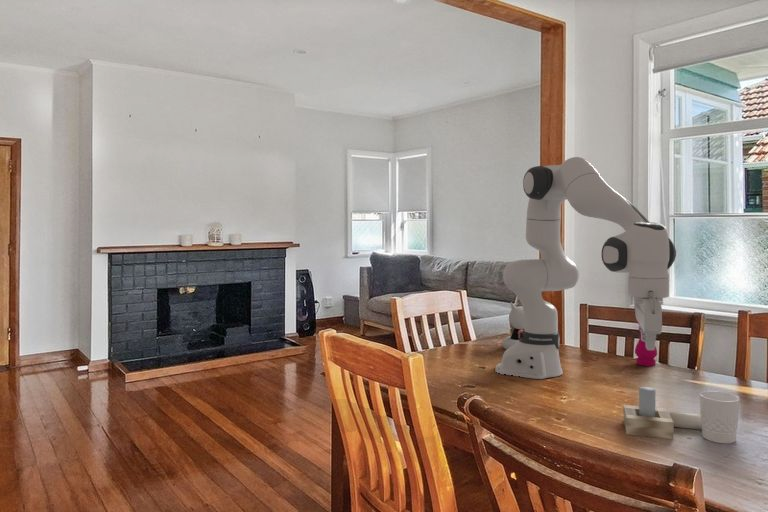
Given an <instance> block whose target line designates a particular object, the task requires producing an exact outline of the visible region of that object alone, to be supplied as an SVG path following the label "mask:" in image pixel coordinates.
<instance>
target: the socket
mask: <svg viewBox="0 0 768 512" xmlns="http://www.w3.org/2000/svg"><path fill="white" fill-rule="evenodd" d="M622 409H623V410H622V412H623V415H622V417H623V420H622V421H623V424H624V431H625V433H626V435H631V436H639V437H647V438H648V437H650V438H659V439H666V440H667V439H668V440H674V433H675V432H674V428H675V427H674V422H673V420H672V418H671V416H670V414H669V412H670V411H669V410H668V408H666V407H665V408H664V407H655V417H646V416H639V405H629V404H628V405H627V404H623V408H622Z"/></svg>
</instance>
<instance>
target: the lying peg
mask: <svg viewBox="0 0 768 512" xmlns="http://www.w3.org/2000/svg"><path fill="white" fill-rule="evenodd" d="M668 412H669V414H670V416H671V418H672V420H673V422H674V428H680V429H681V428H682V429H690V430H698V431H699V430H700V431H702V425H701V416H700V414H699V413H689V412H688V413H686V412H677V411H668Z"/></svg>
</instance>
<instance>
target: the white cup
mask: <svg viewBox="0 0 768 512" xmlns="http://www.w3.org/2000/svg"><path fill="white" fill-rule="evenodd" d="M699 409H700V410H699V411H700V412H699V413H700V416H701V425H702V430H701V436H702V437H703V439H706V440H707V441H711V442H714V443H718V444H719V443H720V444H733V443H736V441H737V430H738V422H739V412H740V411H739V410H740V398H739V396H737V395H735V394H732V393H728V392H724V391H715V390H709V391H708V390H706V391H701V392H700V393H699Z"/></svg>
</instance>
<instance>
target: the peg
mask: <svg viewBox="0 0 768 512" xmlns="http://www.w3.org/2000/svg"><path fill="white" fill-rule="evenodd" d="M656 391H657V390H656V388H653V387H649V386H640V387H639V388H638V406H639V416H646V417H655V408H656Z"/></svg>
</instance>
